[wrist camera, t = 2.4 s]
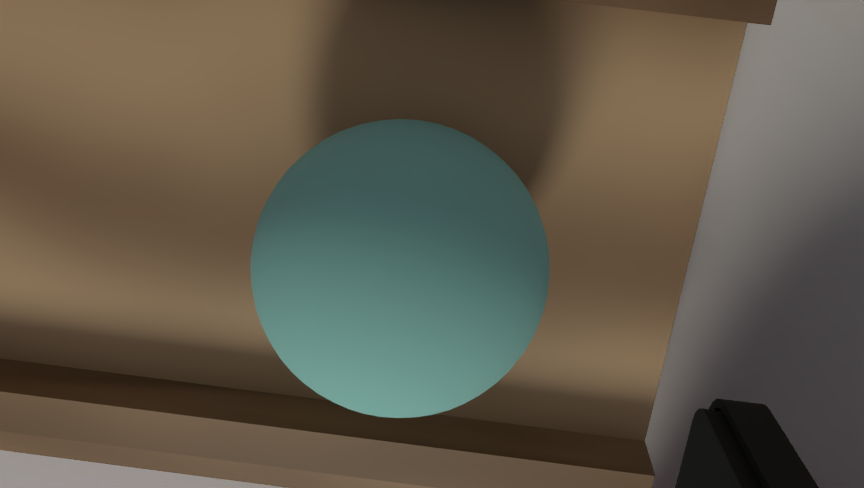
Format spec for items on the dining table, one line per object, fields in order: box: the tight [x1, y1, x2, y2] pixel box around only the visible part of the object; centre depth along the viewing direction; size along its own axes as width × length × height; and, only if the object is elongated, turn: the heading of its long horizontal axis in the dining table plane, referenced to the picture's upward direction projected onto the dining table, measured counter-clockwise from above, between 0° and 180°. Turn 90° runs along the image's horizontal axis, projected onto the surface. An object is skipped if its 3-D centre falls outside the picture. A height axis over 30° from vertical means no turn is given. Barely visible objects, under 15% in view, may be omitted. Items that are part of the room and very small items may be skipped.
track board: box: [0, 0, 777, 488], centre depth 17 cm, size 14×26×4 cm, turn 84°
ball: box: [250, 119, 550, 418], centre depth 14 cm, size 5×5×5 cm
